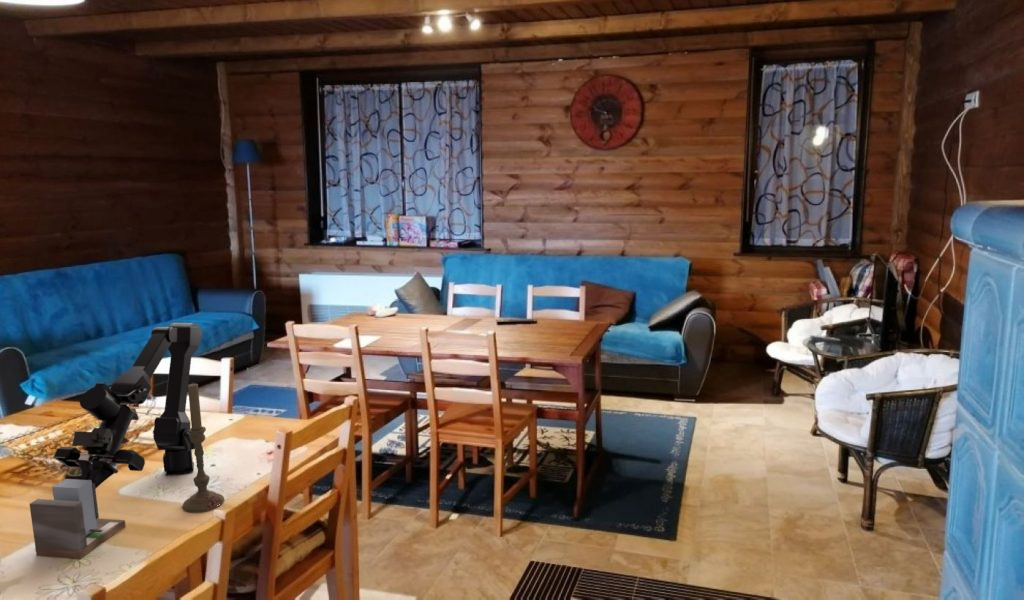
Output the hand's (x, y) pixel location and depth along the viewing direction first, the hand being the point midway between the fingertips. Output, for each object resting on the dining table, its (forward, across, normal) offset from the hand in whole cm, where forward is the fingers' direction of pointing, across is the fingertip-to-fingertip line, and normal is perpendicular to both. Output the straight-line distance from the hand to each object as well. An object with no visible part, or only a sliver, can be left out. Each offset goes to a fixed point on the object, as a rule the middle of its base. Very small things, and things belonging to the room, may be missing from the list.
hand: (83, 495), depth 159 cm
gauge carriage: (+7, +1, +3) cm, 7 cm away
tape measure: (-10, -19, +23) cm, 32 cm away
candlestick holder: (-6, +17, +18) cm, 26 cm away
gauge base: (+8, +1, +4) cm, 9 cm away
